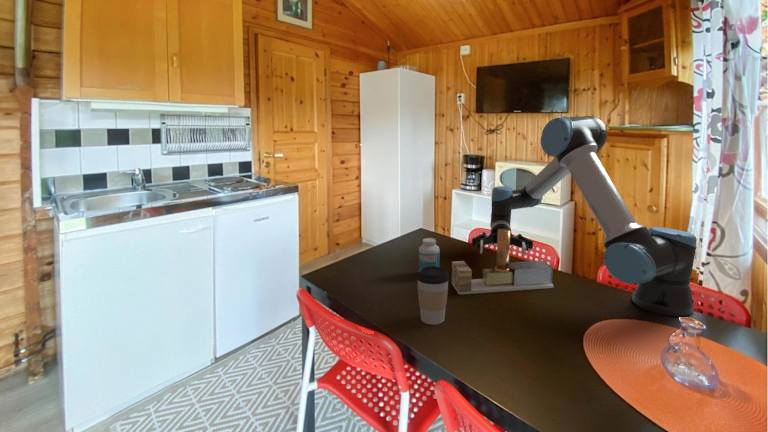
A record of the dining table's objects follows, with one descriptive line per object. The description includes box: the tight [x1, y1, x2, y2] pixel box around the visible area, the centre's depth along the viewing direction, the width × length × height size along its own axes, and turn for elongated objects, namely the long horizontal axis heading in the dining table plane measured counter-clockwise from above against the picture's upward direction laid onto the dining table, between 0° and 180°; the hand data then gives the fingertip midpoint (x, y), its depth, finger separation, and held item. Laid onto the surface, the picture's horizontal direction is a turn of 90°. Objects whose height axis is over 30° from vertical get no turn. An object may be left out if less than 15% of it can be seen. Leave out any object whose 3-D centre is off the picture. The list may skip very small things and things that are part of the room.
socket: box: [451, 260, 473, 292], centre depth 136 cm, size 9×4×7 cm, turn 6°
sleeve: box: [509, 260, 554, 286], centre depth 139 cm, size 7×13×7 cm, turn 96°
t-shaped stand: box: [482, 228, 514, 285], centre depth 136 cm, size 5×20×18 cm, turn 96°
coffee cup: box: [416, 266, 450, 325], centre depth 116 cm, size 9×9×15 cm
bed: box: [451, 278, 555, 295], centre depth 138 cm, size 9×32×1 cm, turn 96°
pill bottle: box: [418, 237, 441, 273], centre depth 147 cm, size 8×7×14 cm
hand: (502, 250), depth 134 cm, fingers open, 13 cm apart
